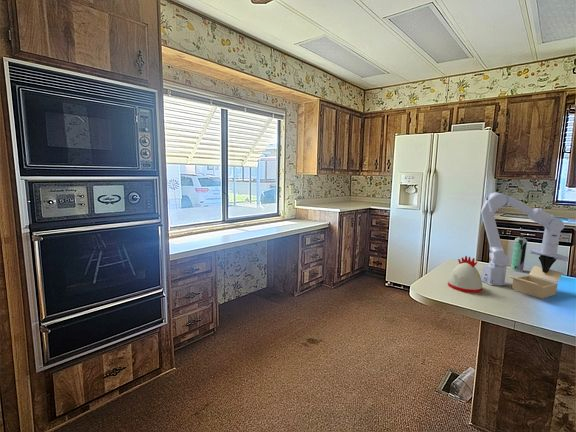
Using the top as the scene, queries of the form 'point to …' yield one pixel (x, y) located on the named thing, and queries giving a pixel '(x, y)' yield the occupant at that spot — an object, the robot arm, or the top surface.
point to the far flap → (545, 274)
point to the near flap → (525, 281)
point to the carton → (535, 287)
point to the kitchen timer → (465, 277)
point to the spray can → (519, 254)
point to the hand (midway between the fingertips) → (545, 272)
